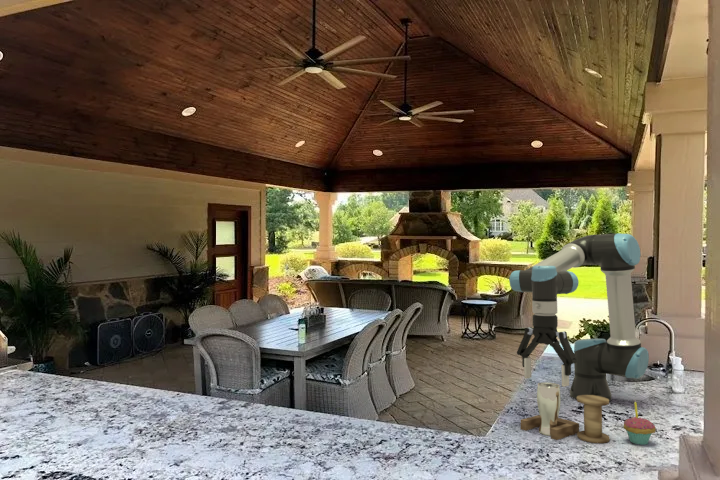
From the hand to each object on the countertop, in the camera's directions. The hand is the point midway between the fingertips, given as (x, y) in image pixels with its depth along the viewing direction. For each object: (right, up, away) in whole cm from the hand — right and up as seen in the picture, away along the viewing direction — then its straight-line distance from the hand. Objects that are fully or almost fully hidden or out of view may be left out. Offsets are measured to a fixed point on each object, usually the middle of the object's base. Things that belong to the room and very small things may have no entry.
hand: (546, 381), depth 169 cm
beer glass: (0, -16, -2) cm, 16 cm away
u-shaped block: (+1, -16, 0) cm, 16 cm away
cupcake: (+24, -16, -10) cm, 31 cm away
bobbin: (+12, -15, -7) cm, 21 cm away
